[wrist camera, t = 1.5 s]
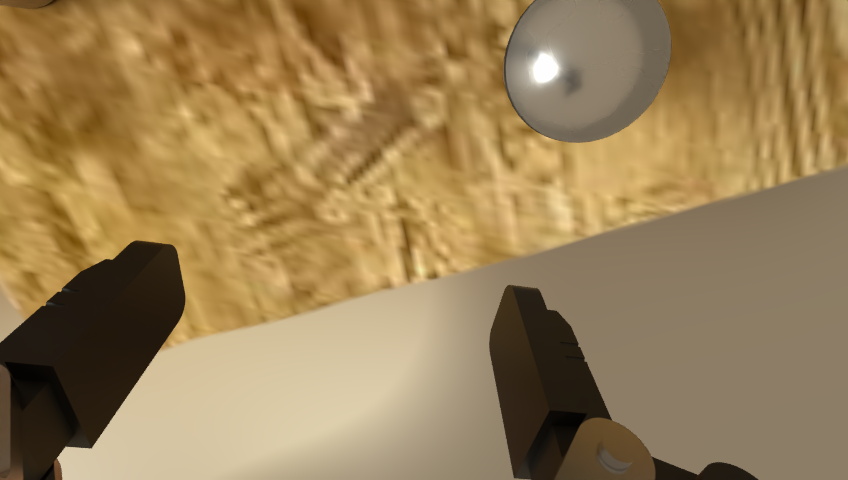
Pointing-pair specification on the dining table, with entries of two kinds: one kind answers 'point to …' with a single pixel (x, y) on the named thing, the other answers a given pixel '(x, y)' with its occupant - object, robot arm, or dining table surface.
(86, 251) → the dining table surface
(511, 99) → the piston
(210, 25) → the dining table surface
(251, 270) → the dining table surface
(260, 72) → the dining table surface
